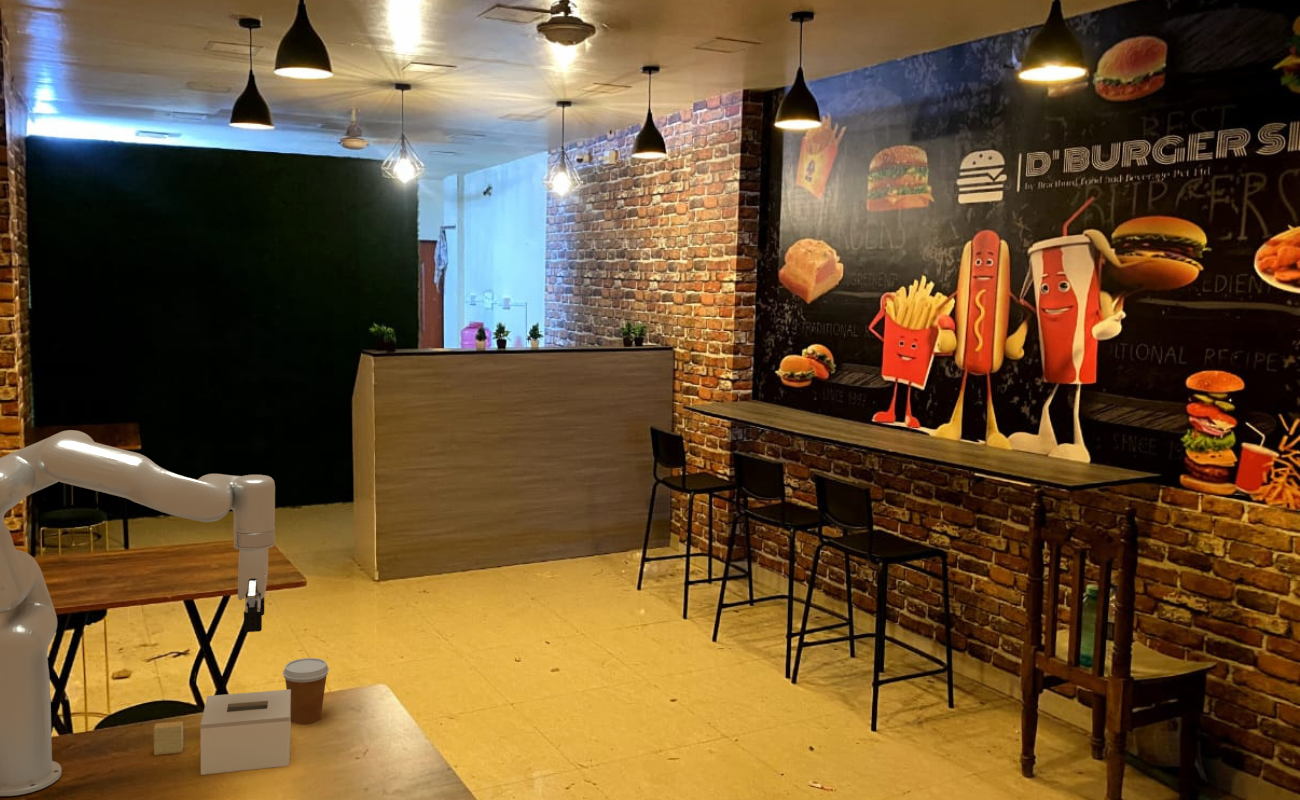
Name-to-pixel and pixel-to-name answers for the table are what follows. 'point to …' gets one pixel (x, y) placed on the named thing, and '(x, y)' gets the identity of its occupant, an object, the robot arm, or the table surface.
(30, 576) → the robot arm
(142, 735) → the table surface
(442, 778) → the table surface
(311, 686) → the disposable coffee cup
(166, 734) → the wooden block
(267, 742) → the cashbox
